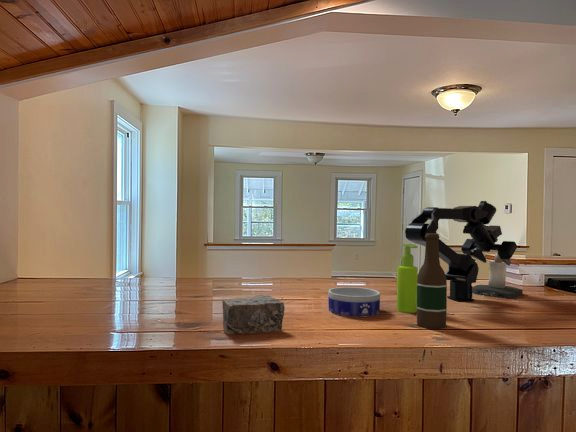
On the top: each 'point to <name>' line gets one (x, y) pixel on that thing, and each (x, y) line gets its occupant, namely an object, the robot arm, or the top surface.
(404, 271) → the soap dispenser
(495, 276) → the bottle
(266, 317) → the stone block
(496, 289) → the media streaming box
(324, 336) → the top surface
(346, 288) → the dog bowl
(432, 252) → the beer bottle
